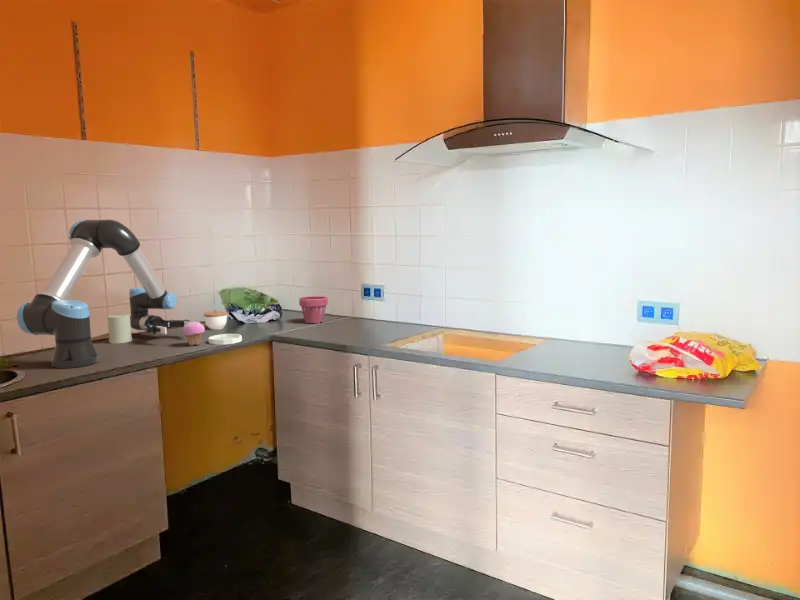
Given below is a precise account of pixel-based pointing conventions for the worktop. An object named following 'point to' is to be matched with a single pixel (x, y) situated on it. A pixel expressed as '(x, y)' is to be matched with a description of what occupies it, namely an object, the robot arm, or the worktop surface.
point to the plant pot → (313, 308)
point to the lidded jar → (215, 319)
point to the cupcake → (193, 332)
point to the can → (119, 328)
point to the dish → (225, 339)
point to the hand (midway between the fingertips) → (180, 328)
